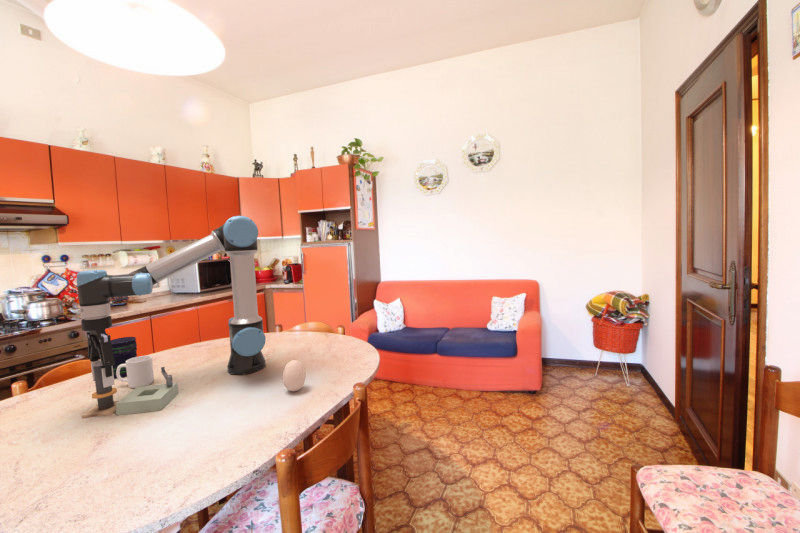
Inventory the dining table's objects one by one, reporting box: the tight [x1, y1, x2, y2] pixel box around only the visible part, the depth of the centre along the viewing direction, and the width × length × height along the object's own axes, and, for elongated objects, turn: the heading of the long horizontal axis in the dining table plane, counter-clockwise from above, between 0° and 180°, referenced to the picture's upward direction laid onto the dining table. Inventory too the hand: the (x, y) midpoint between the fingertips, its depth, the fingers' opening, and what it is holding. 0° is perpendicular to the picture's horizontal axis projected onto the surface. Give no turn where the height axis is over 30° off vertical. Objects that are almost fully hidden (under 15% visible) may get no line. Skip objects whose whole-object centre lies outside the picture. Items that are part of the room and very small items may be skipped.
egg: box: [282, 359, 307, 392], centre depth 126 cm, size 8×8×11 cm
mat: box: [81, 400, 119, 419], centre depth 116 cm, size 9×9×1 cm
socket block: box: [116, 382, 179, 416], centre depth 120 cm, size 13×13×4 cm
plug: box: [91, 361, 118, 410], centre depth 116 cm, size 6×6×16 cm
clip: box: [160, 366, 174, 387], centre depth 127 cm, size 13×2×4 cm, turn 43°
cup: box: [116, 355, 155, 389], centre depth 136 cm, size 8×12×10 cm
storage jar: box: [111, 336, 138, 380], centre depth 148 cm, size 10×10×15 cm
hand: (103, 382), depth 116 cm, fingers open, 9 cm apart
